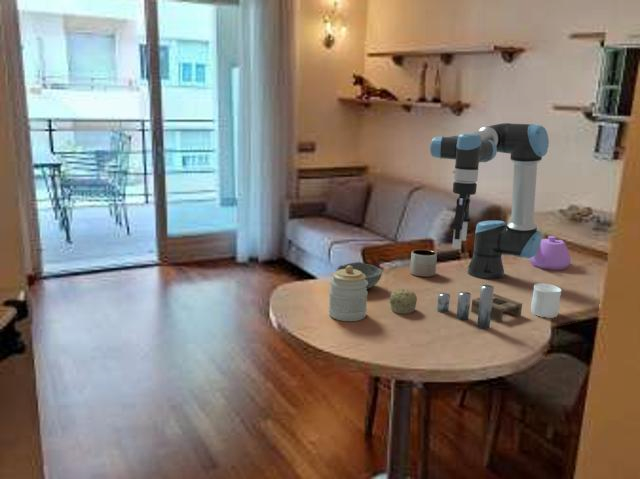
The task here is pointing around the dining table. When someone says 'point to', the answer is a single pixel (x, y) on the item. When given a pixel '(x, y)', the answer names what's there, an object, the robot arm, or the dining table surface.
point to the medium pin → (463, 306)
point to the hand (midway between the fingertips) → (459, 244)
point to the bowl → (366, 272)
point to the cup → (545, 300)
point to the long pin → (485, 306)
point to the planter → (423, 263)
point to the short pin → (443, 302)
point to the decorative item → (403, 301)
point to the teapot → (551, 254)
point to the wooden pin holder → (499, 307)
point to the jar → (348, 295)
